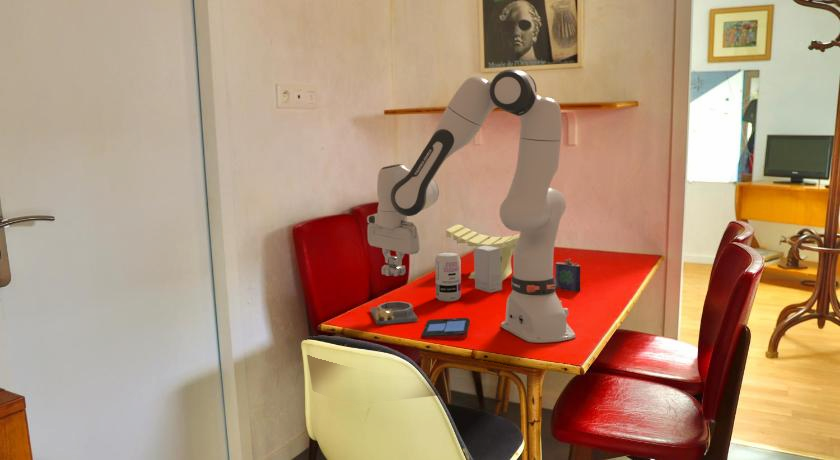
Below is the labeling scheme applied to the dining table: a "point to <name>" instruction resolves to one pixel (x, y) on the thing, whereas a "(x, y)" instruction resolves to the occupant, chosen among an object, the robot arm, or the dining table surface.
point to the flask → (567, 276)
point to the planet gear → (393, 268)
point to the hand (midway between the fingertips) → (393, 264)
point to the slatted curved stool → (481, 240)
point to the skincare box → (487, 268)
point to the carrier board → (393, 313)
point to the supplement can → (448, 276)
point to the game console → (446, 328)
